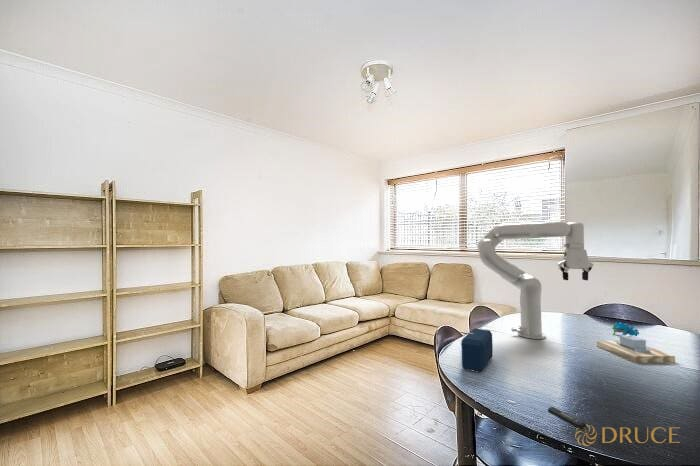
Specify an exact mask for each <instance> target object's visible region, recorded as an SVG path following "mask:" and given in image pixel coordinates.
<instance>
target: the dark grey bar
mask: <svg viewBox="0 0 700 466" xmlns="http://www.w3.org/2000/svg"><path fill="white" fill-rule="evenodd" d="M547 411H548V413H550V414H552V415H554V416H556V417H558V418H560V419H562V420H563V421H565V422H567V423H569V424H571V425H573V426H575V427H577V428H579V429H584V427H585V428H586V427H587V423H585V422H584V421H582V420H581V419H578V418H576V417H575V416H573V415H570V414H568V413H567V412H564V411H563V410H561V409H558V408H556V407H554V406H550V407H548V409H547Z"/></svg>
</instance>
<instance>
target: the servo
mask: <svg viewBox="0 0 700 466" xmlns="http://www.w3.org/2000/svg"><path fill="white" fill-rule="evenodd" d="M619 340H620V342H617V344H619V345H620V346H622V347H625V348H627V349H630V350H633V351H636V352H650V350H648V349H646V346H647V344H646V343H647V341H646V339H643V338H640V337H637V336H634V335H633V336H632V335H629V334H627V335H622V334H619Z"/></svg>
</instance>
